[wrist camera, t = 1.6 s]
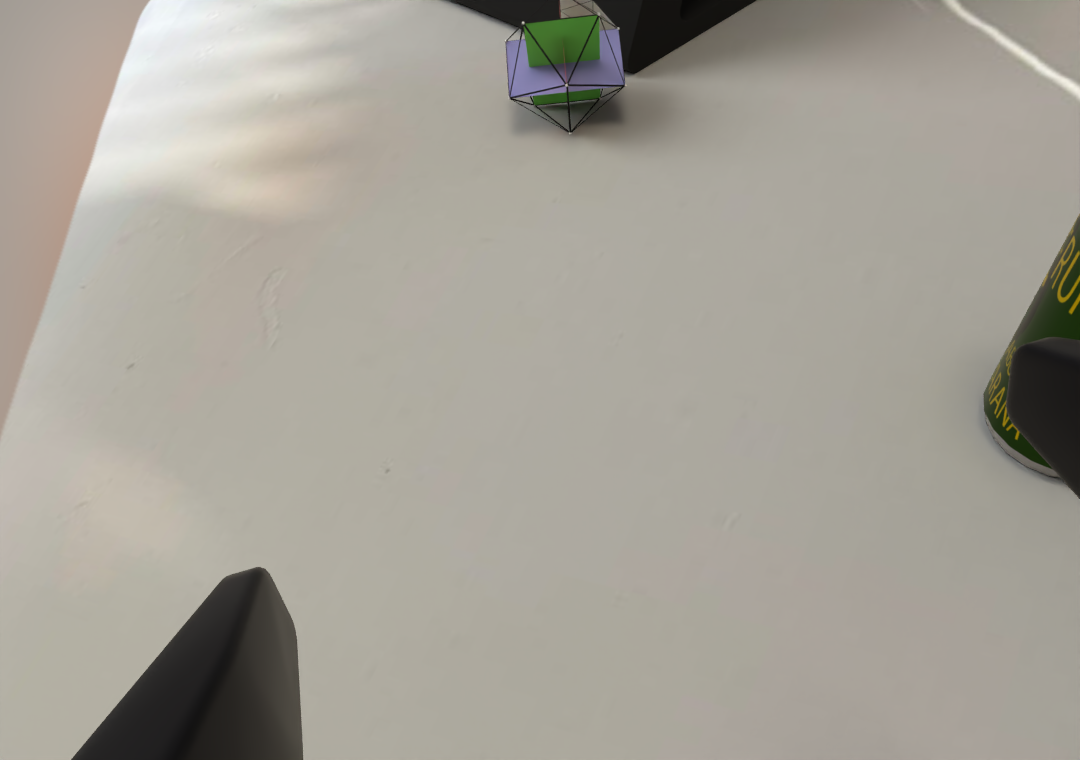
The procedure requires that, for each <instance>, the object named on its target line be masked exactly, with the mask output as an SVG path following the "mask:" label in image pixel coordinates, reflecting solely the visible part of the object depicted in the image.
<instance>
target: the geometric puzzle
mask: <svg viewBox="0 0 1080 760" xmlns="http://www.w3.org/2000/svg"><path fill="white" fill-rule="evenodd" d="M547 1H548V0H547ZM547 1H546V2H547ZM546 2H545V3H546ZM558 2H559V15H560V19H551V20H542V21H534V22H527V21H528V20H529V19H530V18H531V17H532V16H533V15H534V14H535V13H536V12H537V11H538V10H539V9H540V8H541V7H542V6H543V5H544V4H545V3H544V4H543V5H542V6H541V7H540V8H539V9H538V10H536V11H535V12H534V13H533V14H532V15H531V16H530V17H529V18H528V19H527V20H526V21H525V23H524V21H523V22H522V25H521V26H520V27H519V28H521V27H522V31H521V36H520V40H514V41H507V40H505V43H506V55H507V71H508V88H509V97H508V99H509V100H510V99H511V100H513V101H514V100H515V101H519V102H522V103H526V104H530V103H527V102H523V101H520V100H516V99H512V98H518V97H527V96H530V98H531V100H532V97H531V96H533V100H534V102H533V100H532V102H533V104H530V105H533V107H537V106H538V105H547V104H556V103H565V102H567V103H568V117H569V131H570V132H569V131H568V130H567V129H565V128H564V127H563V126H561V125H560V124H559V123H558V122H556V121H555V120H554V119H552V118H551V117H550V116H549V115H547V114H546V113H545V112H543V111H542V110H541V109H540V108H538V107H537V108H538V109H539V110H541V111H542V112H543V113H544V114H546V115H547V116H548V117H550V118H551V119H552V120H553V121H555V122H556V123H557V124H559V125H560V126H561V127H562V128H564V129H565V131H567V132H569V134H570V135H571V133H572V132H573V131H574V130H575V129H576V128H577V125H578V124H579V123H580V122H581V121H582V120H583V118H584V117H585V116H586V115H587V114H588V112H589V111H590V110H591V109H592V108H593V106H594V105H595V104H596V103H597V102H598V101H599V99H601V98H602V97H604V96H602V97H601V95H600V88H602V91H603V88H610V87H621V88H619V89H620V90H621V89H622V88H623V87H626V86H627V84H625V78H624V70H623V62H622V54H621V46H620V38H619V29H620V28H619V27H616V25H615V24H614V23H613V22H612V21H611V20H610V19H609V18H608V16H607V15H606V14H605V13H604V12H603V11H602V10H601V9H600V8H599V6H598V5H597V4H596V3H595V2H594V1H593V0H558ZM523 26H524V33H525V39H523V40H521V37H522V32H523ZM519 28H518V29H519ZM518 29H517V30H518ZM517 30H516V31H517ZM516 31H515V32H516ZM515 32H514V33H515ZM514 33H513V34H514ZM513 34H512V35H513ZM512 35H511V36H512ZM511 36H510V37H511ZM510 37H509V38H510ZM619 89H617V90H619ZM617 90H615V91H617ZM620 90H619V91H620ZM602 91H601V94H602ZM615 91H613V92H615ZM619 91H618V92H619ZM618 92H617V93H618ZM611 93H612V92H611ZM617 93H616V94H617ZM609 94H610V93H609ZM607 95H608V94H607ZM614 95H615V94H614ZM614 95H613V96H614ZM605 96H606V95H605ZM613 96H612V97H613ZM612 97H611V98H612ZM611 98H610V99H611ZM593 99H598V100H597V101H596V103H595V104H594V105H593V106H592V107H591V109H590V110H589V111H588V112H587V113H586V114H585V116H584V117H583V118H582V119H581V120H580V122H579V123H578V124H577V125H576V126H575V127H574V129H573V130H572V131H571V121H570V106H569V102H575V101H584V100H593ZM610 99H609V100H610ZM515 101H514V102H515ZM607 101H608V100H607ZM607 101H606V102H607ZM606 102H605V103H606ZM516 103H517V102H516ZM605 103H604V104H605ZM518 104H519V103H518ZM604 104H603V105H604ZM520 105H521V104H520ZM603 105H602V106H603ZM521 106H522V105H521ZM602 106H601V107H602ZM523 107H524V106H523ZM525 108H526V107H525ZM599 108H600V107H599ZM599 108H598V109H599ZM527 109H528V108H527ZM598 109H597V110H598ZM528 110H529V109H528ZM597 110H596V111H597ZM530 111H531V110H530ZM596 111H595V112H596ZM532 112H533V111H532ZM595 112H594V113H595ZM534 113H535V112H534ZM535 114H536V113H535ZM537 115H538V114H537ZM591 115H592V114H591ZM591 115H590V116H591ZM539 116H540V115H539ZM590 116H589V117H590ZM541 117H542V116H541ZM589 117H588V118H589ZM542 118H543V117H542ZM588 118H587V119H588ZM544 119H545V118H544ZM587 119H586V120H587ZM546 120H547V119H546ZM548 121H549V120H548ZM584 121H585V120H584ZM584 121H583V122H584ZM549 122H550V121H549ZM583 122H582V123H583ZM551 123H552V122H551ZM582 123H581V124H582ZM553 124H554V123H553ZM581 124H580V125H581ZM555 125H556V124H555ZM580 125H579V126H580ZM556 126H557V125H556ZM579 126H578V127H579ZM558 127H559V126H558ZM561 127H560V128H561ZM564 129H563V130H564Z"/></svg>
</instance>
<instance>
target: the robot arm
mask: <svg viewBox="0 0 1080 760" xmlns="http://www.w3.org/2000/svg"><path fill="white" fill-rule="evenodd" d="M1006 410H1007V414H1008V416H1009V419H1010V420H1011V422H1012V424H1013V425H1014V426H1015V427H1016V428H1017V430H1018V431H1019V432H1020V433H1021V434H1022V435H1023V436H1024V437H1025V439H1026V440H1027V441H1028V442H1029V443H1030V444H1031V445H1032V446H1033V447H1034V449H1035V450H1036V451H1037V452H1038V453H1039V454H1040V455H1041V456H1042V458H1043V459H1044V460H1045V461H1046V462H1047V463H1048V464H1049V465H1050V466H1051V468H1052V469H1053V470H1054V471H1055V472H1056V473H1057V474H1058V475H1059V476H1060V478H1061V479H1062V480H1063V481H1064V482H1065V483H1066V484H1067V485H1068V487H1069V488H1070V489H1071V490H1072V491H1073V492H1074V493H1075V494H1076V495H1077V497H1078V498H1079V499H1080V340H1074V339H1067V338H1060V337H1048V338H1044V339H1040V340H1037V341H1034V342H1030V343H1027V344H1023V345H1021V346H1020V347H1018V348H1017V349H1016V350H1015V352H1014V354H1013V355H1012V359H1011V367H1010V375H1009V383H1008V390H1007V398H1006ZM71 760H303V743H302V725H301V706H300V687H299V669H298V650H297V636H296V631H295V627H294V623H293V620H292V618H291V616H290V614H289V612H288V610H287V608H286V606H285V604H284V602H283V600H282V597H281V595H280V593H279V591H278V589H277V587H276V585H275V583H274V581H273V579H272V577H271V576H270V574H269V573H268V572H267V570H266V569H264V568H261V567H256V568H253V569H249V570H246V571H242V572H239V573H235V574H232V575H229V576H227V577H225V578H224V579H223V580H222V581H221V582H220V583H219V584H218V585H217V586H216V588H215V589H214V590H213V591H212V592H211V593H210V595H209V596H208V597H207V598H206V599H205V601H204V602H203V603H202V604H201V605H200V607H199V608H198V609H197V610H196V611H195V613H194V614H193V615H192V616H191V617H190V619H189V620H188V621H187V622H186V623H185V624H184V626H183V627H182V628H181V629H180V630H179V632H178V633H177V634H176V635H175V636H174V638H173V639H172V640H171V641H170V642H169V644H168V645H167V646H166V647H165V648H164V650H163V651H162V652H161V653H160V654H159V655H158V657H157V658H156V659H155V660H154V661H153V663H152V664H151V665H150V666H149V667H148V669H147V670H146V671H145V672H144V673H143V675H142V676H141V677H140V678H139V679H138V681H137V682H136V683H135V684H134V685H133V686H132V688H131V689H130V690H129V691H128V692H127V694H126V695H125V696H124V697H123V698H122V700H121V701H120V702H119V703H118V704H117V706H116V707H115V708H114V709H113V710H112V712H111V713H110V714H109V715H108V716H107V717H106V719H105V720H104V721H103V722H102V723H101V725H100V726H99V727H98V728H97V729H96V731H95V732H94V733H93V734H92V735H91V737H90V738H89V739H88V740H87V741H86V743H85V744H84V745H83V746H82V747H81V748H80V750H79V751H78V752H77V753H76V754H75V756H74V757H73V758H72V759H71Z"/></svg>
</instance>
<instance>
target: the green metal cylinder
mask: <svg viewBox="0 0 1080 760" xmlns="http://www.w3.org/2000/svg"><path fill="white" fill-rule="evenodd" d="M1048 337H1060V338H1067V339H1074V340H1080V214H1079V216H1078V218H1077V219H1076V221H1075V223H1074V225H1073V227H1072V229H1071V231H1070V232H1069V234H1068V236H1067V238H1066V240H1065V242H1064V244H1063V245H1062V247H1061V249H1060V251H1059V253H1058V255H1057V256H1056V258H1055V260H1054V262H1053V264H1052V266H1051V268H1050V269H1049V271H1048V273H1047V275H1046V277H1045V279H1044V281H1043V282H1042V284H1041V286H1040V288H1039V290H1038V292H1037V294H1036V295H1035V297H1034V299H1033V301H1032V303H1031V305H1030V307H1029V308H1028V310H1027V312H1026V314H1025V316H1024V318H1023V320H1022V321H1021V323H1020V325H1019V327H1018V329H1017V331H1016V333H1015V334H1014V336H1013V338H1012V340H1011V342H1010V344H1009V346H1008V347H1007V349H1006V351H1005V353H1004V355H1003V357H1002V359H1001V360H1000V362H999V364H998V366H997V368H996V370H995V372H994V373H993V375H992V377H991V379H990V381H989V383H988V385H987V388H986V390H985V392H984V412H985V417H986V422H987V425H988V427H989V429H990V431H991V433H992V436H993V438H994V439H995V440H996V442H997V443H998V444H999V445H1000V446H1001V447H1002V448H1003V449H1004V450H1005V451H1006V452H1007V454H1009V455H1010V456H1012V457H1013V458H1015V459H1016V460H1017V461H1019V462H1020V463H1022V464H1023V465H1025V466H1026V467H1028V468H1031V469H1033V470H1036V471H1038V472H1041V473H1043V474H1046V475H1048V476H1052V477H1057V478H1060V476H1059V475H1058V474H1057V473H1056V472H1055V471H1054V470H1053V469H1052V468H1051V466H1050V465H1049V464H1048V463H1047V462H1046V461H1045V460H1044V459H1043V458H1042V456H1041V455H1040V454H1039V453H1038V452H1037V451H1036V450H1035V449H1034V447H1033V446H1032V445H1031V444H1030V443H1029V442H1028V441H1027V440H1026V439H1025V437H1024V436H1023V435H1022V434H1021V433H1020V432H1019V431H1018V430H1017V428H1016V427H1015V426H1014V425H1013V424H1012V422H1011V420H1010V419H1009V416H1008V414H1007V410H1006V398H1007V390H1008V383H1009V375H1010V367H1011V359H1012V355H1013V354H1014V352H1015V350H1016V349H1017V348H1018V347H1020V346H1021V345H1023V344H1027V343H1030V342H1034V341H1037V340H1040V339H1044V338H1048Z"/></svg>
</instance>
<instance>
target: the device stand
mask: <svg viewBox="0 0 1080 760" xmlns="http://www.w3.org/2000/svg"><path fill="white" fill-rule="evenodd" d="M453 1H456V2H458V3H461V4H463V5H466V6H468V7H471V8H473V9H476V10H478V11H480V12H483V13H485V14H488V15H490V16H493V17H495V18H498V19H500V20H503V21H505V22H508V23H510V24H513V25H515V26H518V27H520V26H521V25H522V22H523V21H524V23H525V21H526V20H527V19H528V18H529V17H530V16H531V15H532V14H533V13H534V12H535V11H536V10H538V9H539V8H540V7H541V6H542V5H543V4H544V3H545V2H546V1H547V0H453ZM593 1H594V2H595V3H596V4H597V5H598V6H599V8H600V9H601V10H602V11H603V12H604V13H605V14H606V15H607V16H608V18H609V19H610V20H611V21H612V22H613V23H614V24H615V25H616V27H619V28H620V29H619V38H620V46H621V54H622V62H623V69H624V70H627V71H629V72H632V73H636V72H638V71H640V70H641V69H643V68H645V67H646V66H648V65H650V64H651V63H653V62H655V61H656V60H658V59H660V58H661V57H663V56H665V55H666V54H668V53H669V52H671V51H673V50H674V49H676V48H678V47H679V46H681V45H683V44H684V43H686V42H688V41H689V40H691V39H693V38H694V37H696V36H698V35H699V34H701V33H703V32H704V31H706V30H708V29H709V28H711V27H712V26H714V25H716V24H717V23H719V22H721V21H722V20H724V19H726V18H727V17H729V16H731V15H732V14H734V13H736V12H737V11H739V10H741V9H742V8H744V7H746V6H747V5H749V4H751V3H752V2H754V1H755V0H593ZM551 19H560V15H559V2H558V0H548V1H547V2H546V3H545V4H544V5H543V6H542V7H541V8H540V9H539V10H538V11H537V12H536V13H535V14H534V15H533V16H532V17H531V18H530V19H529V20H528V21H527V22H534V21H542V20H551ZM521 28H522V27H521ZM523 29H524V26H523Z"/></svg>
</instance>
